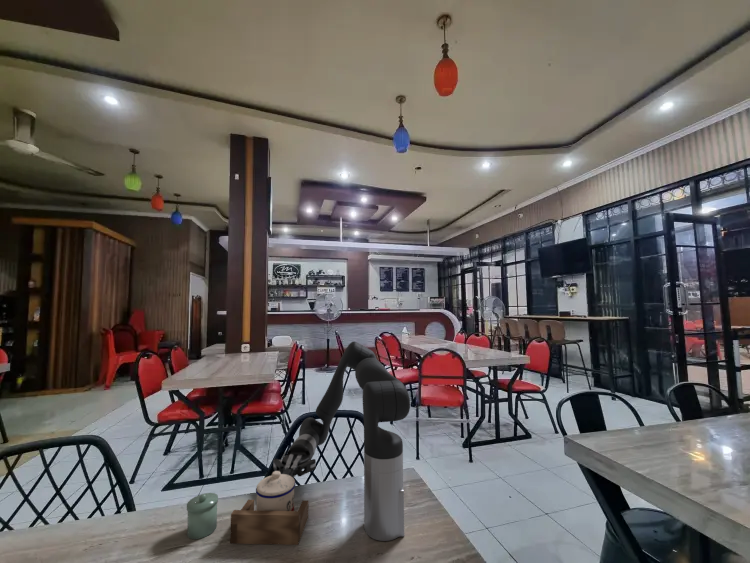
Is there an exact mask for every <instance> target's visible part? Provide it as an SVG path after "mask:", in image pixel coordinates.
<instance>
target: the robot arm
mask: <svg viewBox="0 0 750 563" xmlns="http://www.w3.org/2000/svg"><path fill="white" fill-rule="evenodd" d="M347 368H350V369H352V370H354V371H355V372H354V374H355V379H356V382H357V383H358V386H359V388H360V389H361V390H362V413H363V417H362V418H363V528H364V531H365V534H366V535H367V536H369V538H372V540H376V541H379V542H389V541H393V540H395V539H397V538H399V537H405V493H404V492H405V490H404V448H403V447H404V442H403V439H402V437H401V436H400V435H399V434H397V433H396V432H393V431H391V430H386V429H385V428H382V427H380V426H379V423H387V422H388V423H389V422H398V421H402V420H404V419H406V417H407V416H408V415H409V414H410V411H411V410H410V409H411V398H410V394H409V391H408V390H407V388H406V386H405V384H404V383H403V382H402V381H401V380H400V379H398V378H396V376H393V375H392V374H391V373H390V372H389V371H388V370H387V369H386V367H385V366H384V365H383V364H382V363H381V362H380V361H379V360H378V359H377V356H376V353H375V352H374V351H373V350H372V349H370V348H368V347H367V346H365V345H362V344H361V343H359V342H357V341H352V342H350V343H349V344H348V345H347V347H346V348H345V350H344V352H343V354H342V356H341V357H340V360H339V362H338V364H337V366H336V369H335V371H334V374H333V376H332V378H331V381H330V383H329V385H328V387H327V389H326V391H325V393H324V395H323V396H322V398H321V399H320V401H319V403H318V405H317V406H316V409H315V414H316V416H317V417H318V418H319V419H320V420H321V422H320V421H319V420H317V419H315V418H314V417H306V418H305V419H304V420H303V421H302V422H301V425H300V427H299V430H298V437H297V438H296V439H295V440H294V441H293V443H292V444H291V446H290V447H289V449H288V450H287V452H286V454H285V455H284V456H283V457H282V459H278V458H274V459H273V460H272V461H273V463H272V464H273V467H272V468H273V470H274V471H280V473H281V474H286V475H290V476H291V477H293V478H295V477H296V476H297V477H302V476H304V475H306V474H308V473H310V472H312V471H315V470H316V468H317V467H316V462H317V461H316V459H315V458H313V457H314V456H315V453H316V449H317V447H318V446H322V445H323V444H324V443H325V442H326V441H327V438H328V436H329V431H330V427H331V424H332V421H333V419H334V417H335V415H336V413H337V412H338V410H339V409H340V407H341V405H342V403H343V398H344V375H345V372H346V370H347Z"/></svg>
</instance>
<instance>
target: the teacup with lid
mask: <svg viewBox="0 0 750 563" xmlns="http://www.w3.org/2000/svg"><path fill="white" fill-rule="evenodd" d="M295 488H296V480H295V477H291V476H290V475H286V474H281V473H280V471H275V470H274V471H272V473H271V475H269V476H266V477H265V478H263V479H261V480H260V481H259V482H258V483H257V485H256V487H255V492H256V509H255V510H260V511H295Z"/></svg>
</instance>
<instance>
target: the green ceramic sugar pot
mask: <svg viewBox="0 0 750 563" xmlns="http://www.w3.org/2000/svg"><path fill="white" fill-rule="evenodd" d="M195 502H196V503H195ZM218 502H219V496H218V494H217V493H215V492H206V493H201V494H198V495H196V496H194V497H193V498H191V499H190V500H189V501H187V503H186V511H187V525H186V526H187V528H186V529H187V534H186V535H187V538H189V539H190V540H199V539H202V538H205V537H207V536H209V535H211V534H212V533H214V532H215V531H216V530H217V526H218V525H217V524H218Z"/></svg>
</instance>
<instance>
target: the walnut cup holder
mask: <svg viewBox="0 0 750 563" xmlns="http://www.w3.org/2000/svg"><path fill="white" fill-rule="evenodd" d="M309 502H310V500H301V503H300V505H299V508H298V510H294V511H260V510H256V509H255V499H247V500H246V502H245V504H244V505H243V506H242V508H241V509H234V510H233V511H232V512H231V514H230V533H229V534H230V535H229V536H230V537H229V544H237V545H239V544H240V545H241V544H245V545H249V544H250V545H283V546H284V545H287V546H288V545H290V546H292V545H294V546H296V545H297V546H298V545H299V544H300V541H301V538H302V536H303V533H304V531H305V528H306V525H307V523H308V519H309Z"/></svg>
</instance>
